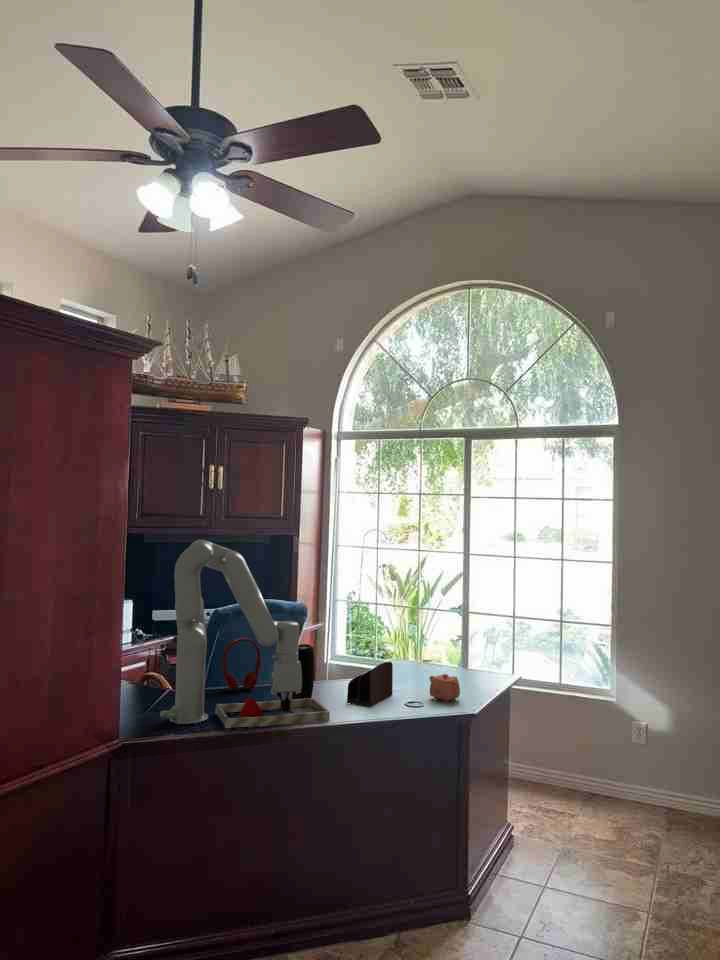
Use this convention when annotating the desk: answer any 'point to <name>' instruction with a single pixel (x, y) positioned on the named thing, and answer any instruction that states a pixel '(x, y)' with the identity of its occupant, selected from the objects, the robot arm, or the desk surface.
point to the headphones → (251, 676)
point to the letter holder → (371, 686)
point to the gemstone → (250, 709)
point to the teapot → (444, 687)
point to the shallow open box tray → (299, 707)
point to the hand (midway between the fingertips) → (285, 710)
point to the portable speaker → (306, 671)
